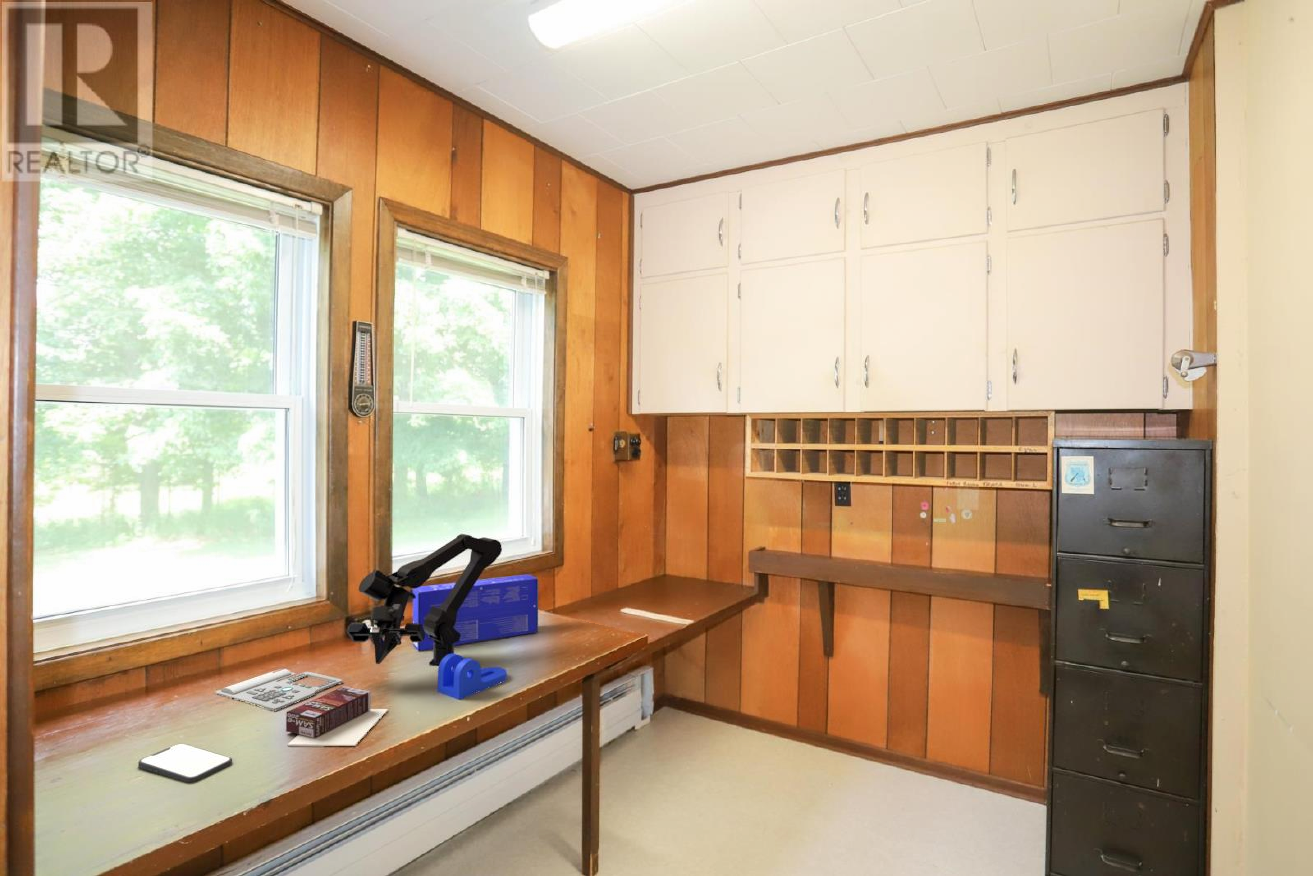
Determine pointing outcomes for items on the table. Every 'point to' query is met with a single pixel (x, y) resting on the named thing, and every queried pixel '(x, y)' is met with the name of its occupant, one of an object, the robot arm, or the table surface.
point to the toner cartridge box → (484, 609)
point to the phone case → (184, 763)
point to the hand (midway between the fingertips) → (377, 663)
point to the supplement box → (328, 711)
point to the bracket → (466, 676)
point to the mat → (343, 731)
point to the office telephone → (276, 689)
